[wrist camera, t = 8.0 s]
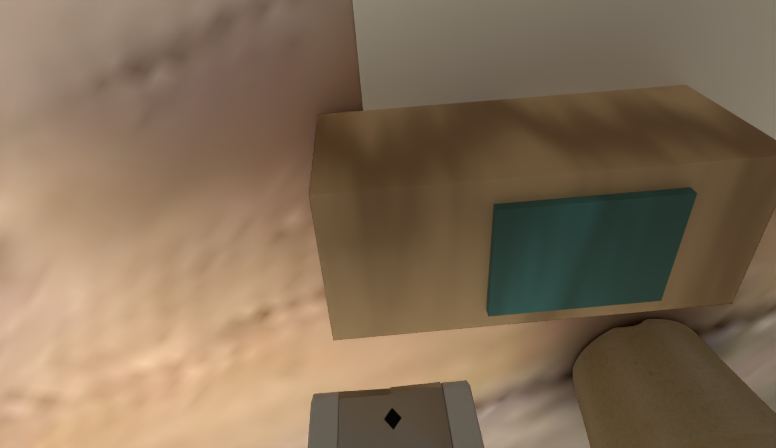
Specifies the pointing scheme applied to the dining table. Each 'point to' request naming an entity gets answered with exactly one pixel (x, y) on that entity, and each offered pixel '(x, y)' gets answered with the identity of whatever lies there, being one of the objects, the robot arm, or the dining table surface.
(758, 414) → the flower pot
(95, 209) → the dining table surface
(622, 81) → the white board
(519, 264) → the oak block
